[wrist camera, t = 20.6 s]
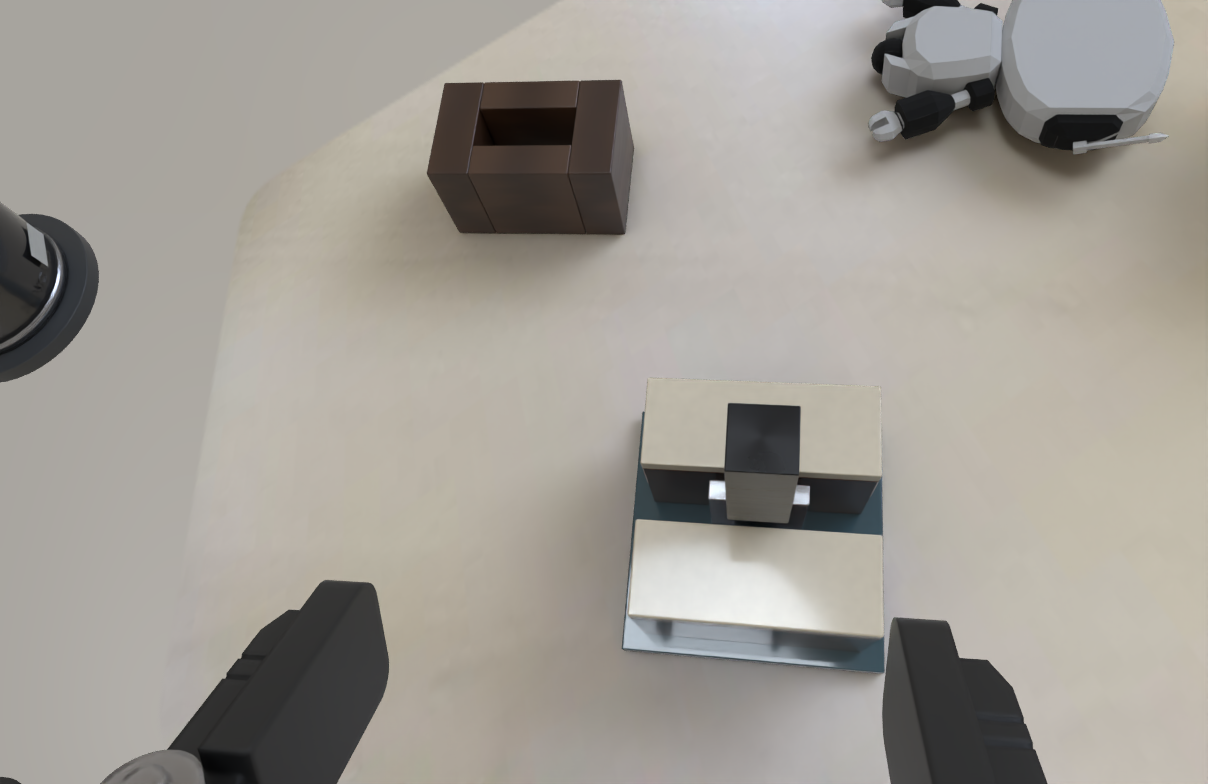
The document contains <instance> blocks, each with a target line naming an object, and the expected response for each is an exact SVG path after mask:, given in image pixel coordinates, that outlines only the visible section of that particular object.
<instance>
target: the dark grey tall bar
mask: <svg viewBox="0 0 1208 784" xmlns="http://www.w3.org/2000/svg"><path fill="white" fill-rule="evenodd" d="M800 423H801V407H800V406H791V405H768V404H745V403H728V408H727V427H726V445H725V464H724V475H725V481H717V480H710V481H709V493H708V500H709V508H710V515H711V522H712V524H720V525H736V526H751V527H766V528H781V529H797V530H802V528H803V524H804V521H805V518H806V514H807V511H808V508H809V504H810V486H803V485H797V482H798V478H799V468H800Z"/></svg>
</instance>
